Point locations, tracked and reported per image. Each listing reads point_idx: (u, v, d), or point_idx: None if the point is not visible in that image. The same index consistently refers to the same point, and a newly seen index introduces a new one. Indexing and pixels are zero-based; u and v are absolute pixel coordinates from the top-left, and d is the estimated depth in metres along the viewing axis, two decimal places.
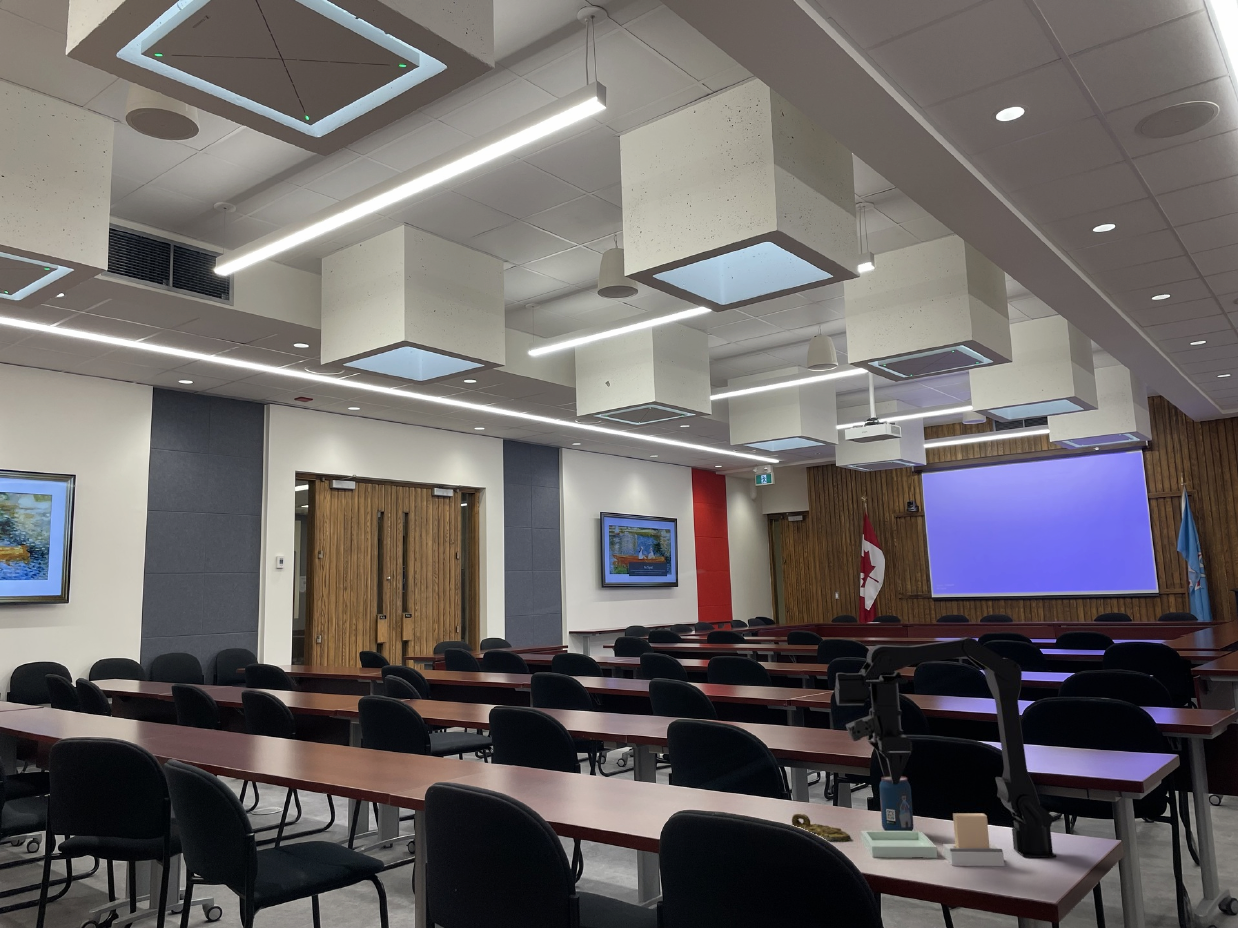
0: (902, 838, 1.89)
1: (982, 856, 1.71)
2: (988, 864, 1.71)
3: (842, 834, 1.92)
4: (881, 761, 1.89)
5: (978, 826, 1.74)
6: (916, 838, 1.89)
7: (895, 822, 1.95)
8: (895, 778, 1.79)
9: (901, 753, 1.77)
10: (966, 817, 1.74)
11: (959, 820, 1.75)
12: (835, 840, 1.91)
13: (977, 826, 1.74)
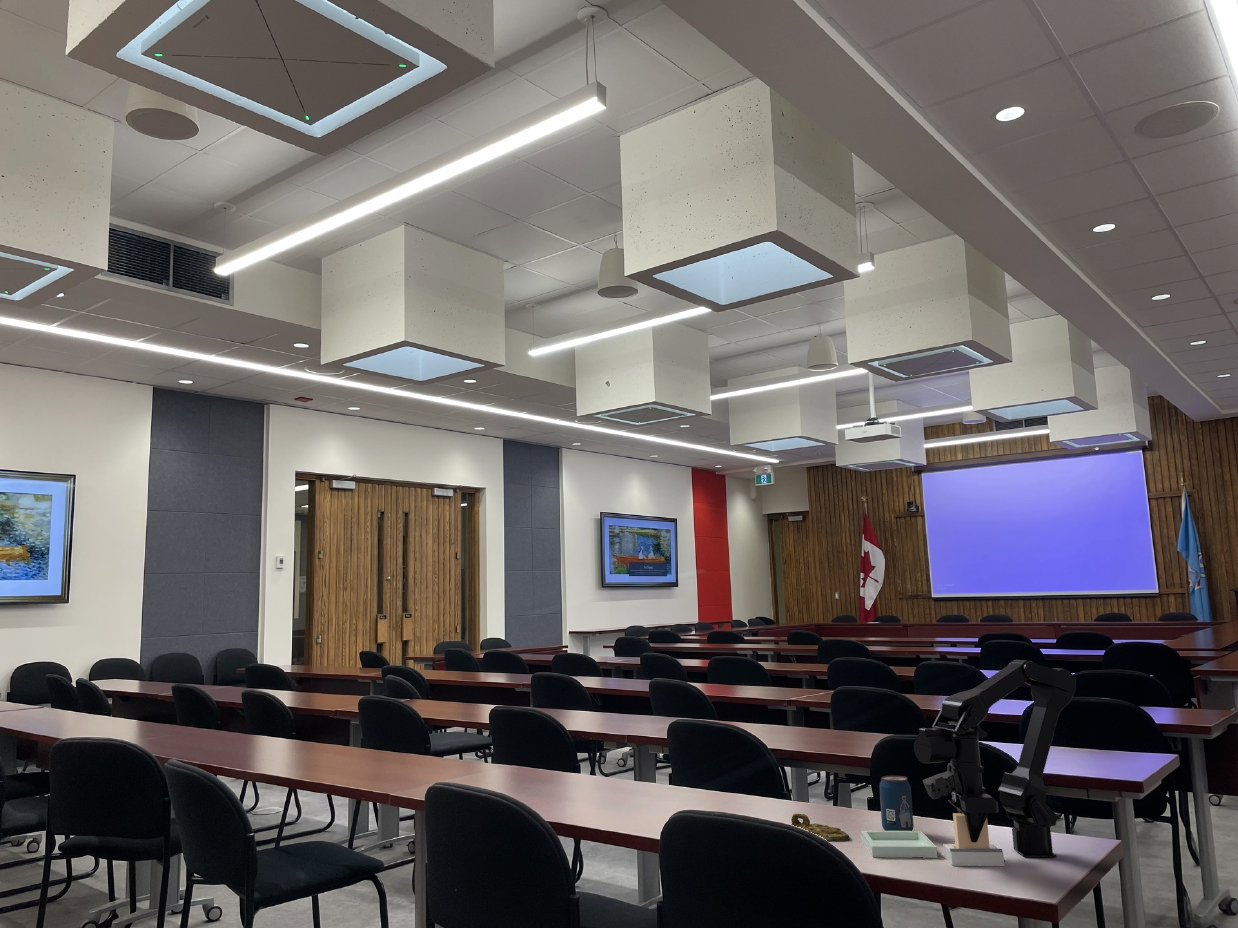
0: (902, 838, 1.89)
1: (982, 856, 1.71)
2: (988, 864, 1.71)
3: (841, 834, 1.92)
4: None
5: None
6: (916, 838, 1.89)
7: (895, 822, 1.95)
8: (974, 835, 1.73)
9: None
10: None
11: (959, 820, 1.75)
12: (834, 840, 1.91)
13: None
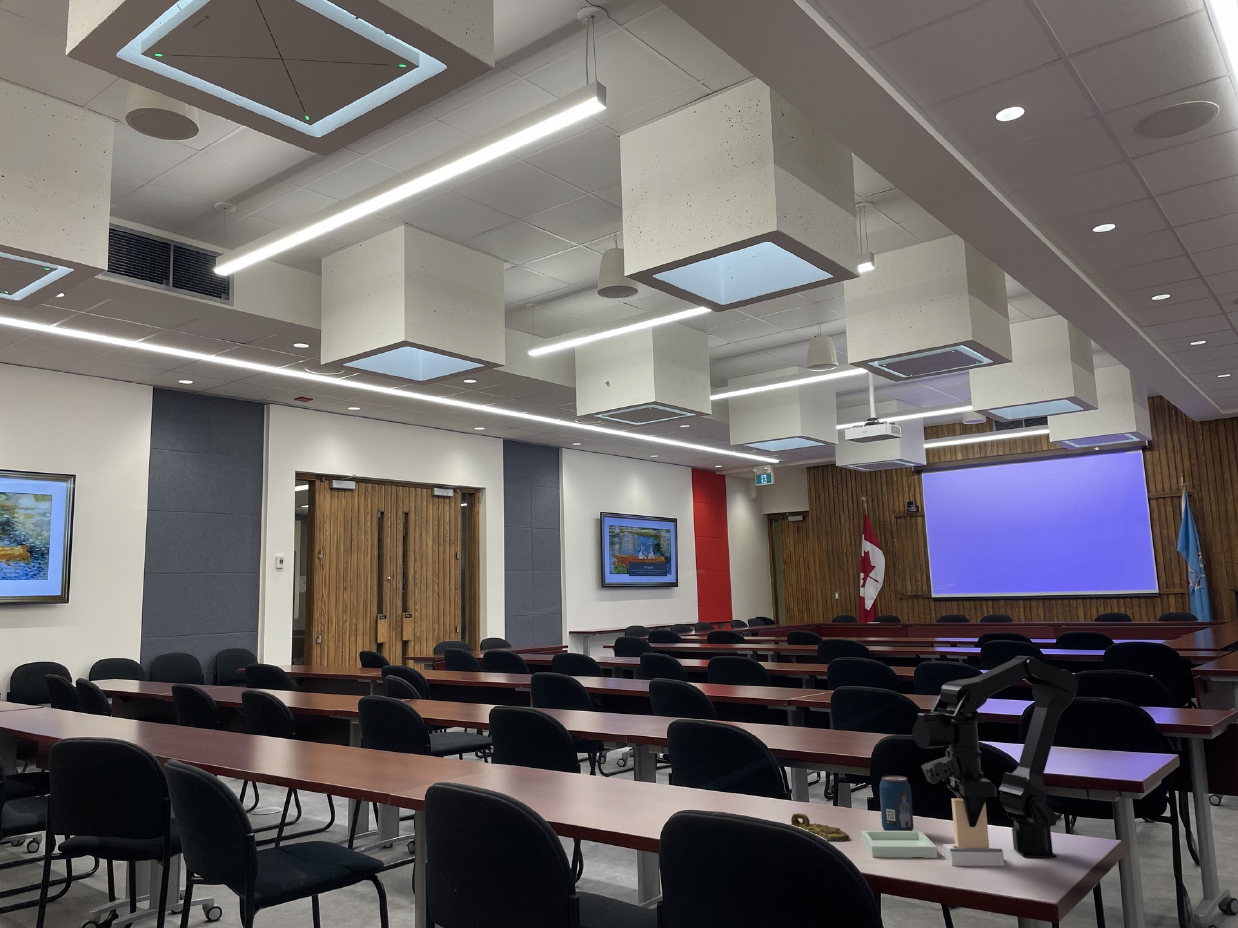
0: (902, 838, 1.89)
1: (982, 856, 1.71)
2: (988, 864, 1.71)
3: (841, 834, 1.92)
4: None
5: None
6: (916, 838, 1.89)
7: (895, 822, 1.95)
8: (972, 820, 1.74)
9: None
10: None
11: (957, 804, 1.75)
12: (833, 840, 1.91)
13: None
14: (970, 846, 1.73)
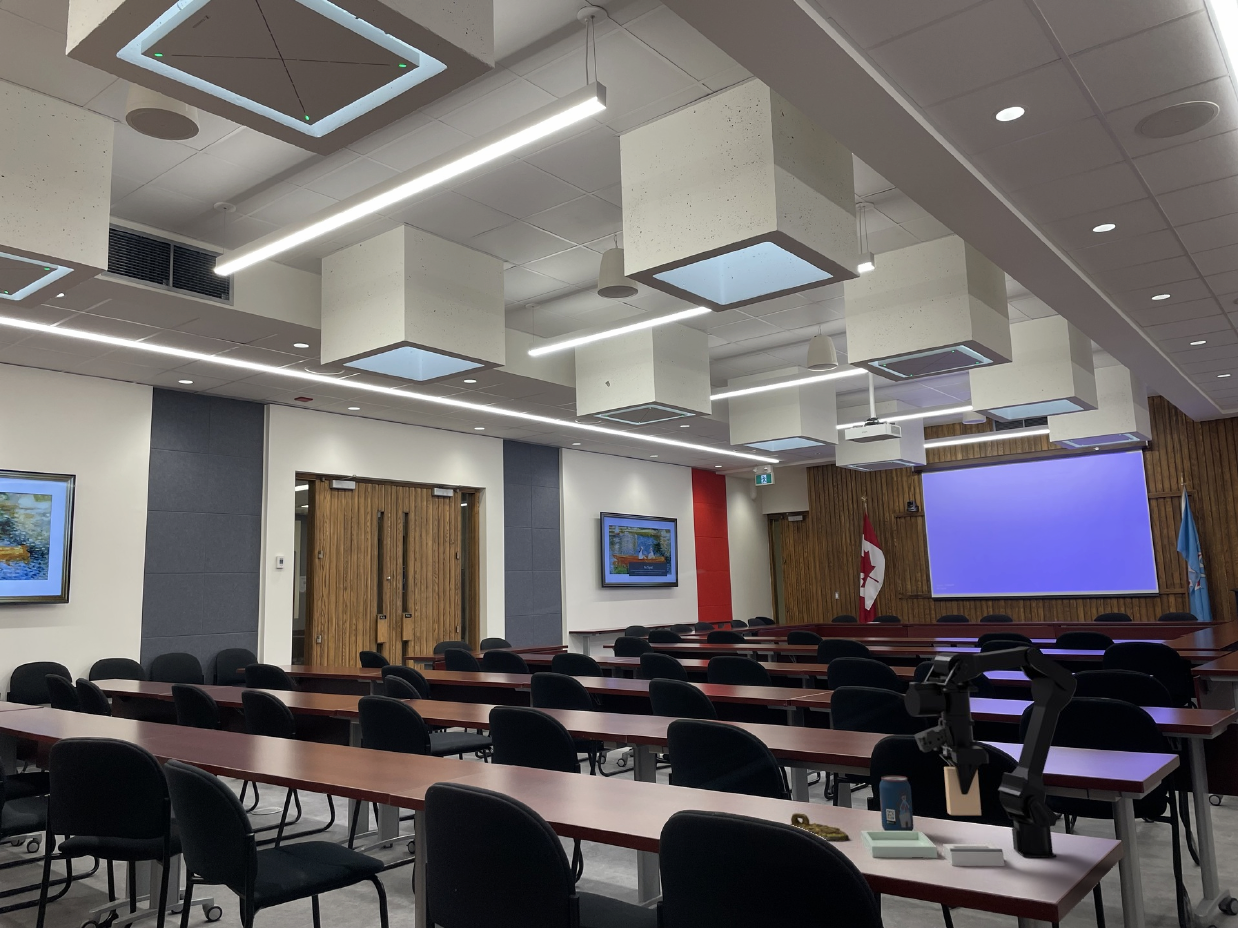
0: (902, 838, 1.89)
1: (982, 856, 1.71)
2: (988, 864, 1.71)
3: (840, 834, 1.92)
4: None
5: None
6: (916, 838, 1.89)
7: (895, 822, 1.95)
8: (964, 788, 1.75)
9: None
10: None
11: (950, 772, 1.77)
12: (833, 840, 1.91)
13: None
14: (962, 813, 1.75)
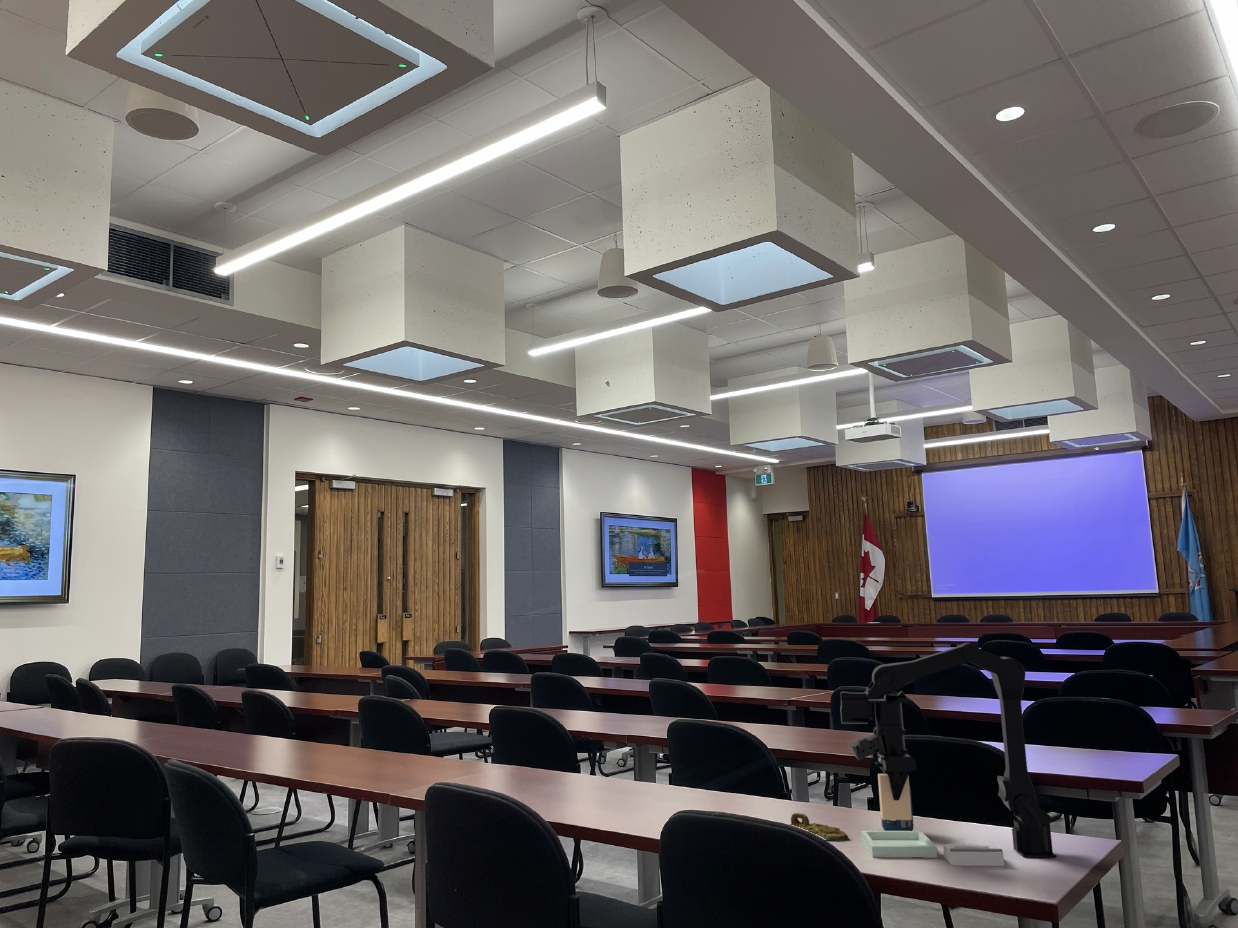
0: (902, 838, 1.89)
1: (982, 856, 1.71)
2: (988, 864, 1.71)
3: (839, 834, 1.93)
4: None
5: None
6: (916, 838, 1.89)
7: (895, 822, 1.95)
8: (896, 794, 1.84)
9: None
10: None
11: (882, 779, 1.86)
12: (832, 840, 1.91)
13: None
14: (894, 818, 1.84)
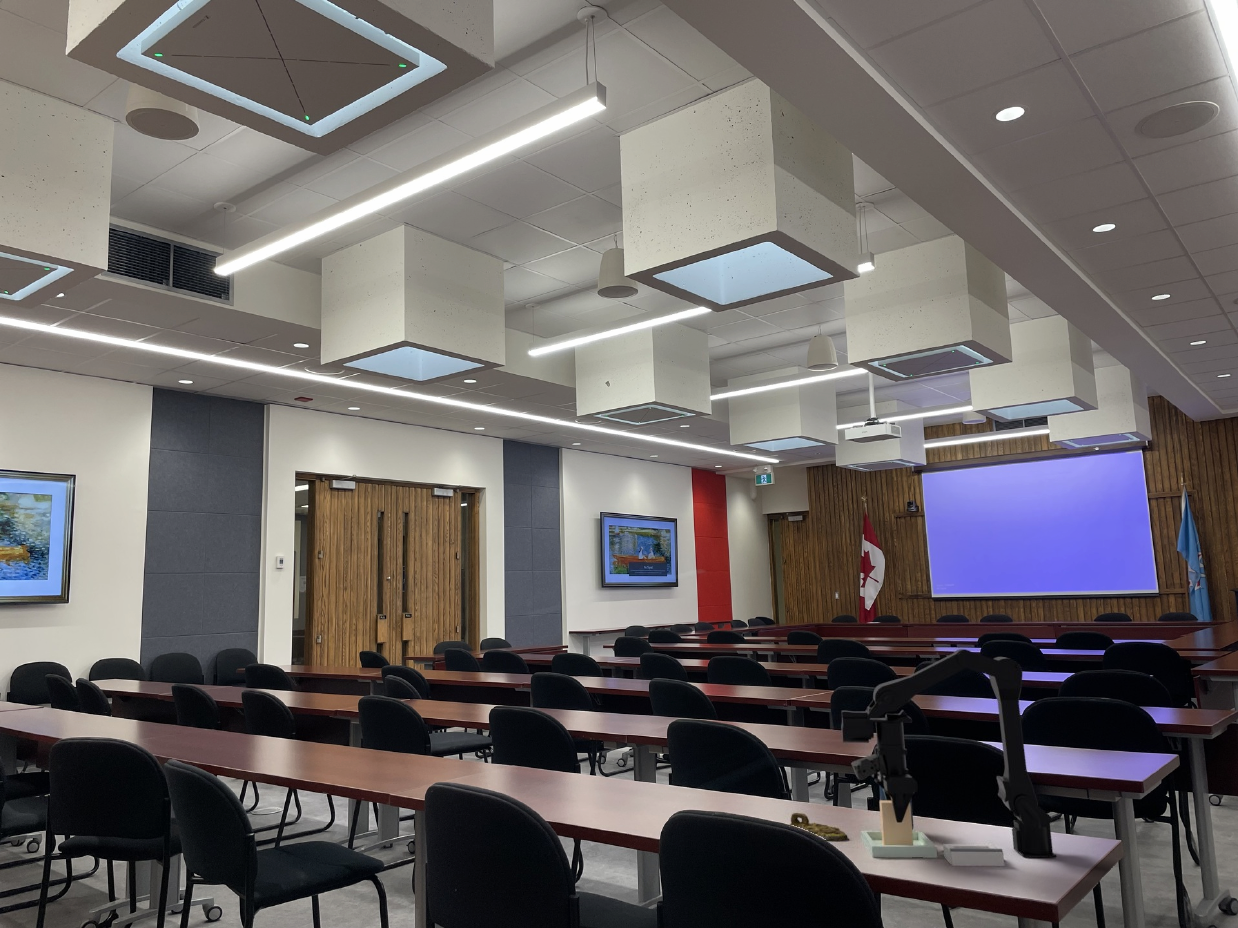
0: None
1: (982, 856, 1.71)
2: (988, 864, 1.71)
3: (839, 834, 1.93)
4: (887, 800, 1.89)
5: None
6: (916, 838, 1.89)
7: None
8: (899, 816, 1.82)
9: (905, 792, 1.80)
10: (891, 804, 1.85)
11: (884, 806, 1.85)
12: (831, 839, 1.92)
13: None
14: None
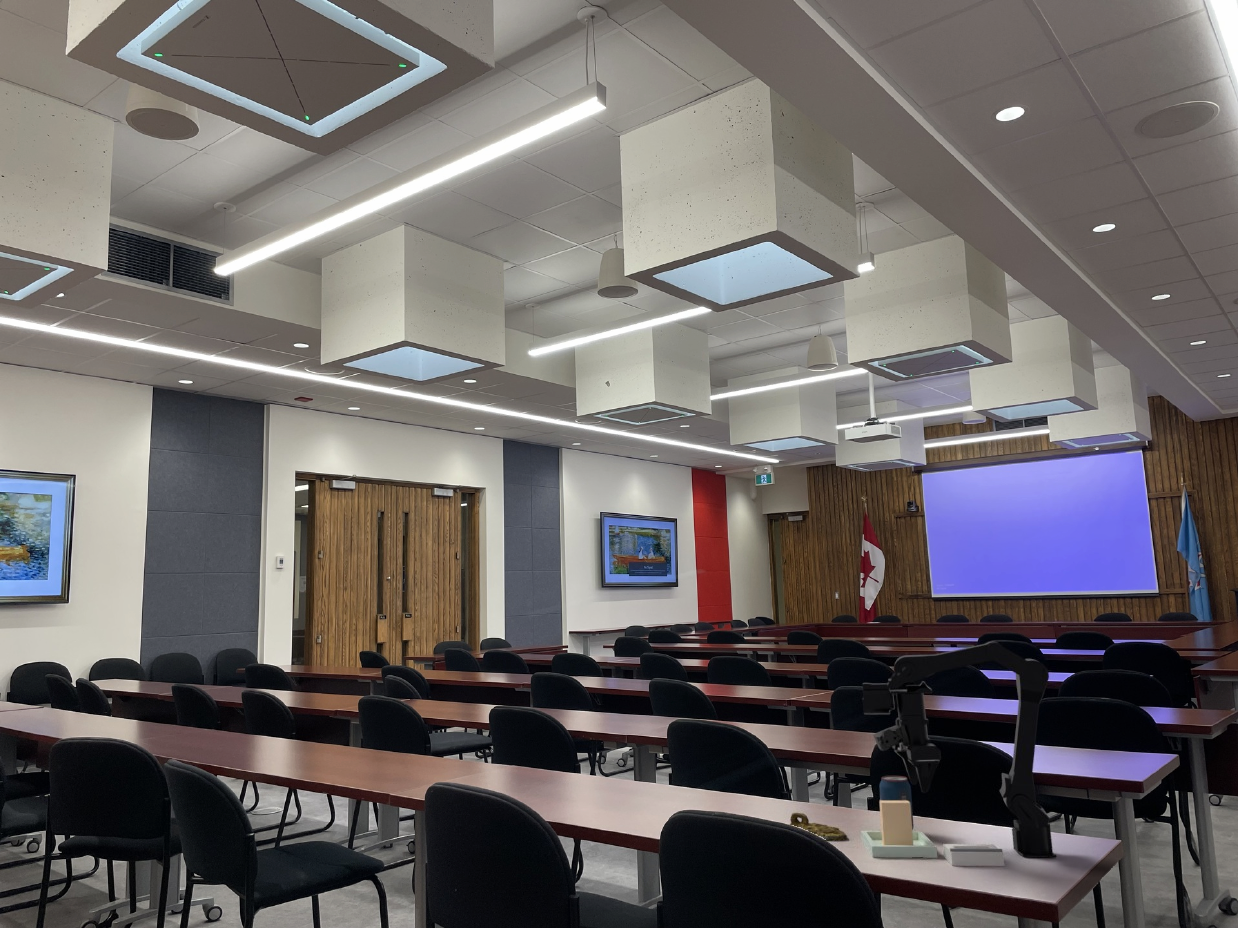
0: None
1: (982, 856, 1.71)
2: (988, 864, 1.71)
3: (838, 833, 1.93)
4: (908, 769, 1.92)
5: (902, 812, 1.84)
6: (916, 838, 1.89)
7: None
8: (924, 786, 1.82)
9: (930, 762, 1.80)
10: (891, 804, 1.85)
11: (884, 806, 1.85)
12: (831, 839, 1.92)
13: (901, 812, 1.84)
14: None
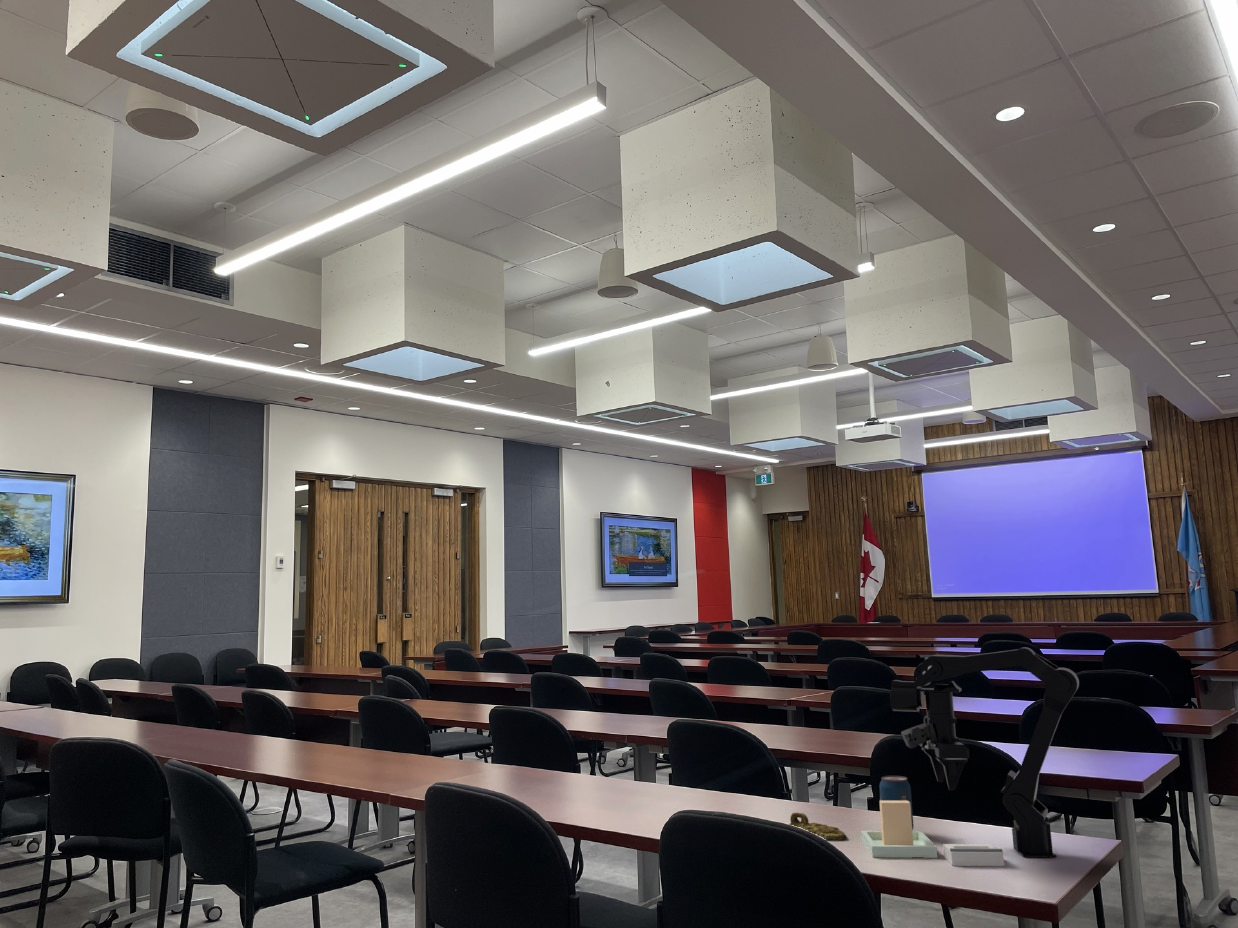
0: None
1: (982, 856, 1.71)
2: (988, 864, 1.71)
3: (838, 833, 1.93)
4: (935, 767, 1.94)
5: (902, 812, 1.84)
6: (916, 838, 1.89)
7: None
8: (951, 784, 1.84)
9: (958, 760, 1.82)
10: (891, 804, 1.85)
11: (884, 806, 1.85)
12: (830, 839, 1.92)
13: (901, 812, 1.84)
14: None
